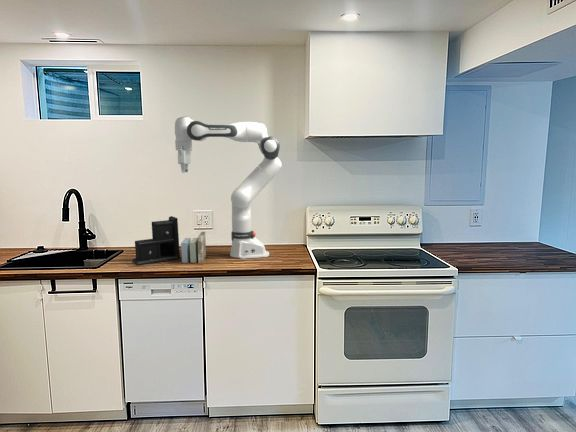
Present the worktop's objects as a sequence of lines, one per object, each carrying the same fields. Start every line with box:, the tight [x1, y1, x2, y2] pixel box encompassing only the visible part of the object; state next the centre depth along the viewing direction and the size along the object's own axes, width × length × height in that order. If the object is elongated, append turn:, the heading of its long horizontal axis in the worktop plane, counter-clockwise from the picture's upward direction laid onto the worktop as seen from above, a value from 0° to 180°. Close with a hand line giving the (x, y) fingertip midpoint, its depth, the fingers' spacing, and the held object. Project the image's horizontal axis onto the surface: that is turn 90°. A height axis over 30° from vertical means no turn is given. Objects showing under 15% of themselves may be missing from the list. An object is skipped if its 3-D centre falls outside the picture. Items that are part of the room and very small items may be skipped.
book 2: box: [189, 237, 198, 264], centre depth 226 cm, size 3×14×11 cm, turn 5°
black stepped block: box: [131, 215, 181, 267], centre depth 223 cm, size 23×11×24 cm, turn 123°
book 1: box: [180, 237, 192, 264], centre depth 225 cm, size 3×14×11 cm, turn 5°
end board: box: [197, 231, 207, 264], centre depth 226 cm, size 2×18×14 cm, turn 5°
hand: (184, 172), depth 227 cm, fingers open, 8 cm apart
